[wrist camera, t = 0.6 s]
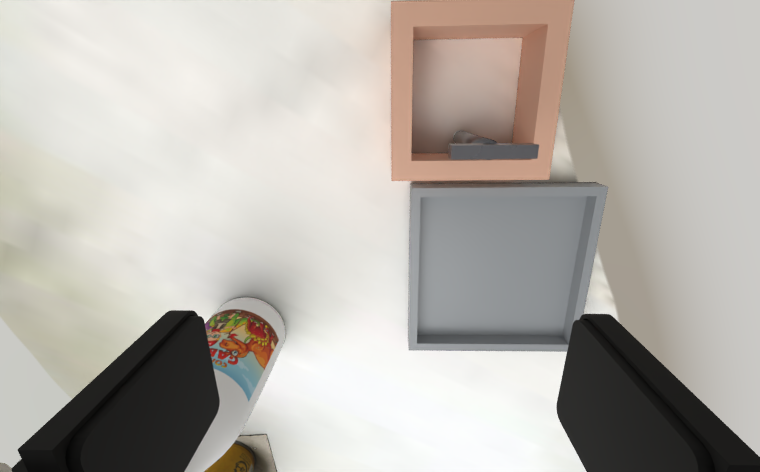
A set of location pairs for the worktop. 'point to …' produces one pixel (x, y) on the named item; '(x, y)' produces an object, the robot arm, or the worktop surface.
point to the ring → (535, 84)
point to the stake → (489, 148)
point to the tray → (500, 263)
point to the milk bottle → (238, 369)
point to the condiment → (246, 456)
